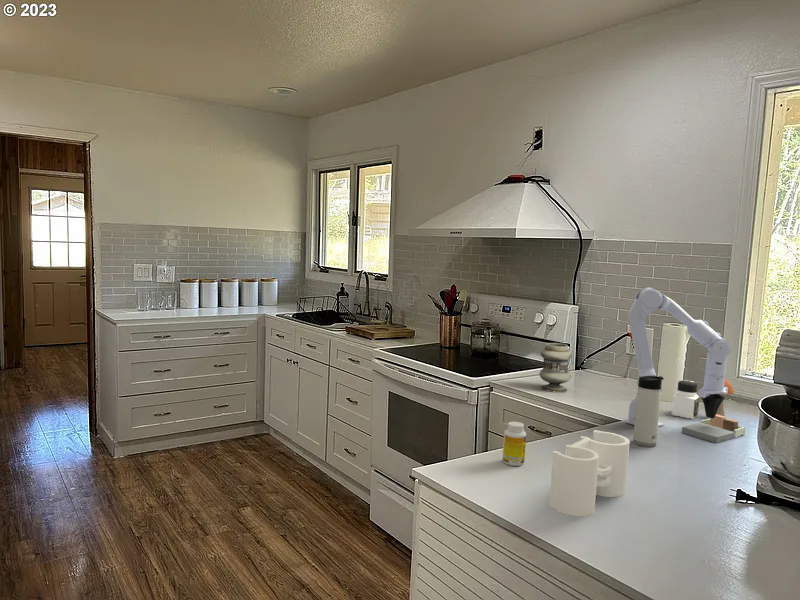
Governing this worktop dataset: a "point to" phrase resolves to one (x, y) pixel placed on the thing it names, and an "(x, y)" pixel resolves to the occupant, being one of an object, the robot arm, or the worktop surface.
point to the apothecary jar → (555, 366)
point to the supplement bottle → (514, 444)
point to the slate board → (708, 432)
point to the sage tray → (738, 431)
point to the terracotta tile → (717, 421)
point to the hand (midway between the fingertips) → (710, 417)
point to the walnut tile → (730, 424)
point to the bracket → (589, 473)
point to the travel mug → (647, 410)
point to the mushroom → (730, 391)
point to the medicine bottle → (686, 400)
